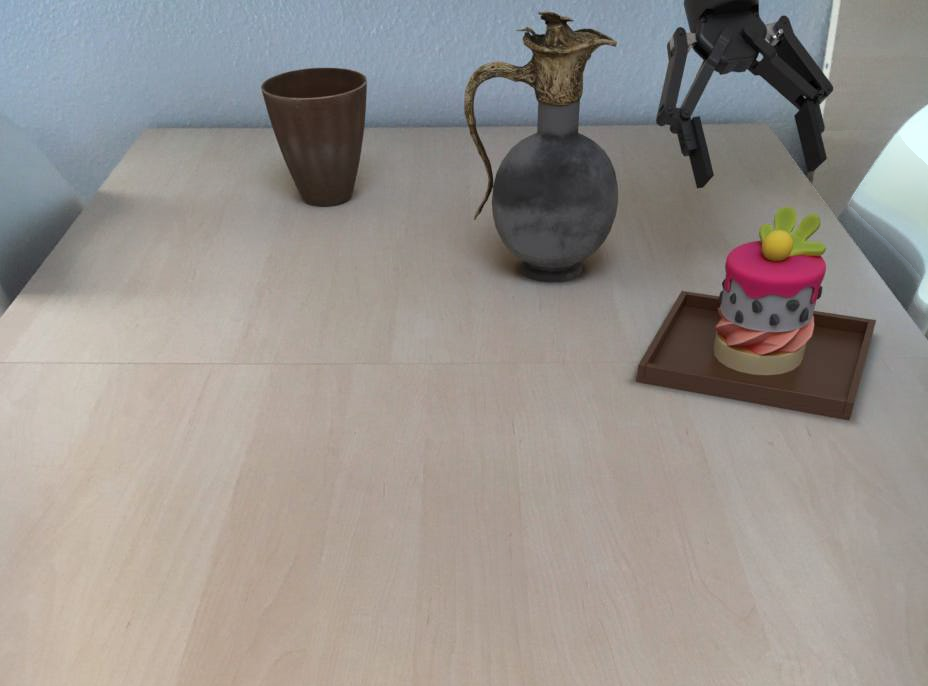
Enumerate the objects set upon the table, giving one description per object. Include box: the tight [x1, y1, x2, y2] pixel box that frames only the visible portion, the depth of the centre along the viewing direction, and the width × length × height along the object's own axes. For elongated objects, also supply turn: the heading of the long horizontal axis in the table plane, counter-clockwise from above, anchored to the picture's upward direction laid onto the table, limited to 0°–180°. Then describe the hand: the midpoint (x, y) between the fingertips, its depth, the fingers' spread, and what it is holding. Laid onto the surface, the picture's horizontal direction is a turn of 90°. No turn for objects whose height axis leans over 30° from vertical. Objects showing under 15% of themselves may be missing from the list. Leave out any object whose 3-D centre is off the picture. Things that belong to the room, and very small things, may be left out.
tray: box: [636, 290, 877, 421], centre depth 115 cm, size 23×20×2 cm
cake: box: [713, 206, 827, 375], centre depth 110 cm, size 10×11×15 cm
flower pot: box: [260, 67, 368, 207], centre depth 150 cm, size 15×15×16 cm
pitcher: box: [463, 11, 619, 283], centre depth 124 cm, size 11×19×30 cm, turn 81°
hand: (762, 174), depth 111 cm, fingers open, 13 cm apart
